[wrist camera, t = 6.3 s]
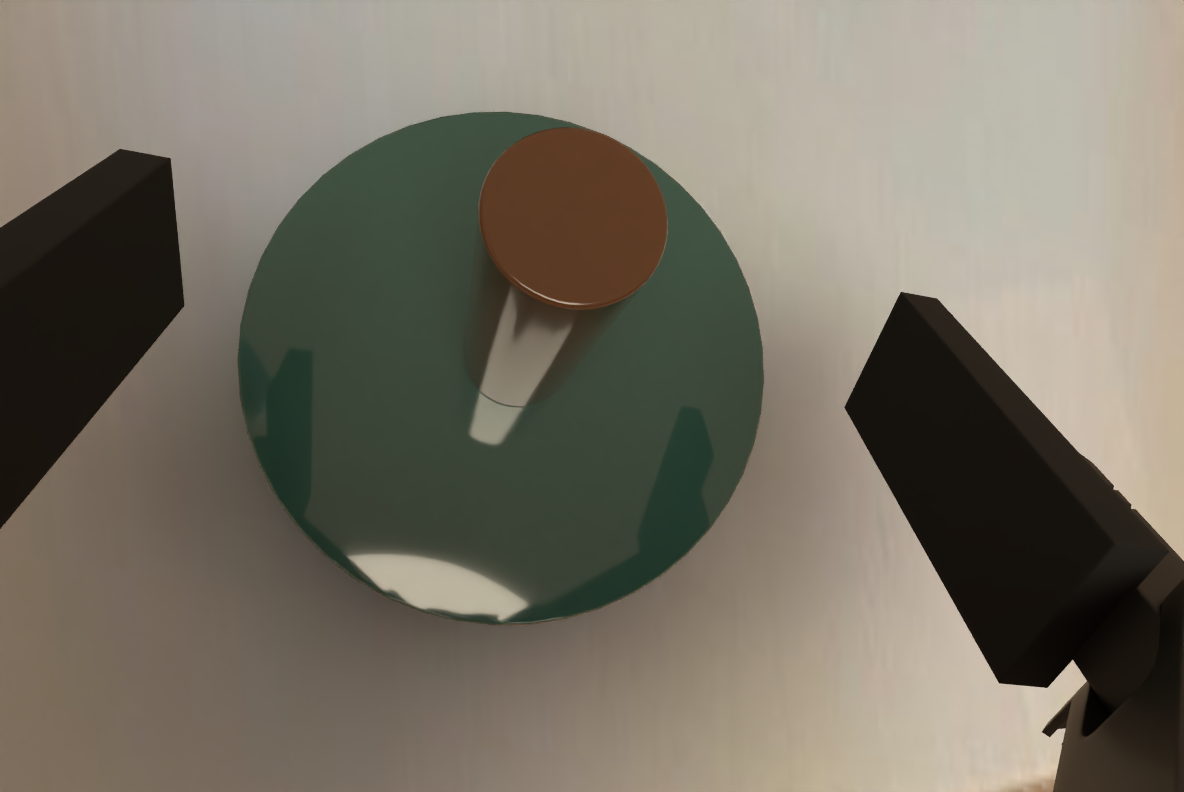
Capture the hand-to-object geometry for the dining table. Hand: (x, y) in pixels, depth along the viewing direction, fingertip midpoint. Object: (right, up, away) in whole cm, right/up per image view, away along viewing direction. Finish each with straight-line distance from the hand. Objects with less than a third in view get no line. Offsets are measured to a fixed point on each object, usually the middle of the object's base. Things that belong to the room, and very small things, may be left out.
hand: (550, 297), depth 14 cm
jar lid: (-1, -1, +6) cm, 6 cm away
